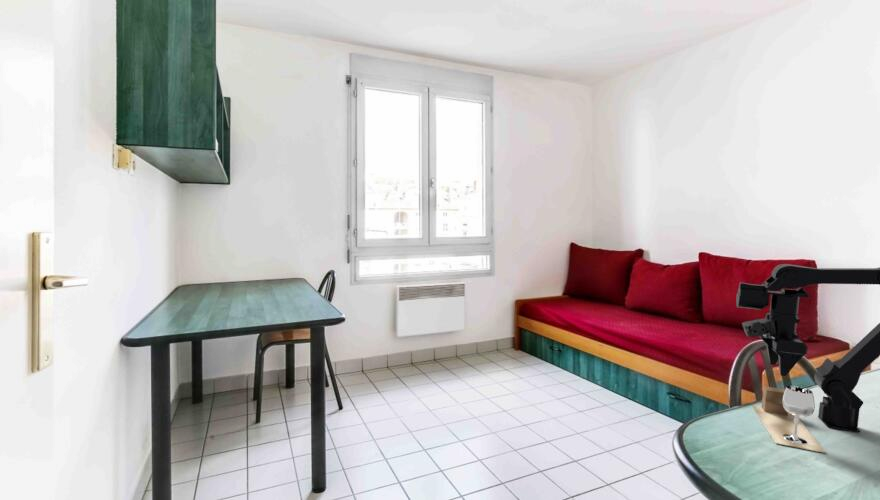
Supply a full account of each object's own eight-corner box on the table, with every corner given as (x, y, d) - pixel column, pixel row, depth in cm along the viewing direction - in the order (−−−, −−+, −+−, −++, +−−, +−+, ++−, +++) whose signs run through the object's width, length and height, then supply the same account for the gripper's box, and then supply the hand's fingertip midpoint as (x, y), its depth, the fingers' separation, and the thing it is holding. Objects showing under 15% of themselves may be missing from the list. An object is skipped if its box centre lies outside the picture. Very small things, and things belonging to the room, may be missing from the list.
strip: (792, 412, 116) (795, 390, 115) (826, 453, 96) (828, 426, 95) (752, 405, 119) (754, 384, 119) (776, 443, 99) (778, 417, 99)
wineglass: (816, 447, 98) (822, 395, 97) (787, 444, 99) (792, 393, 98) (801, 434, 103) (805, 386, 102) (773, 431, 104) (778, 383, 103)
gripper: (739, 302, 125) (734, 355, 127) (755, 315, 108) (749, 376, 110) (786, 307, 121) (781, 361, 122) (811, 321, 104) (804, 384, 105)
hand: (777, 370), depth 115 cm, fingers open, 9 cm apart
